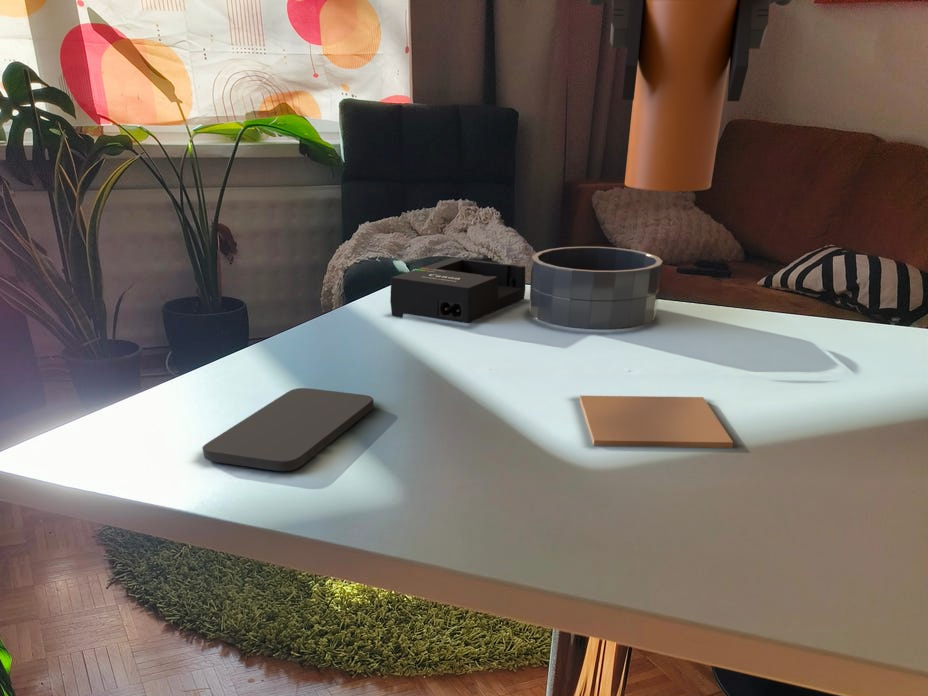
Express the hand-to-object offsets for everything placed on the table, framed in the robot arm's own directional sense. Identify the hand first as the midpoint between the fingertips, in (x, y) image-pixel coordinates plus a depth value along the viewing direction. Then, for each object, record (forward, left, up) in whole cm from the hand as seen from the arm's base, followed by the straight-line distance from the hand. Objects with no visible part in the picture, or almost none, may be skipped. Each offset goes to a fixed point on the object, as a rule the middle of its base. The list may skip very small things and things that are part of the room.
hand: (683, 83), depth 57 cm
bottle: (-1, -4, -6) cm, 7 cm away
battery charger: (+14, -34, -22) cm, 43 cm away
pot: (0, -31, -22) cm, 38 cm away
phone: (+26, +4, -22) cm, 35 cm away
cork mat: (-1, +1, -22) cm, 22 cm away
